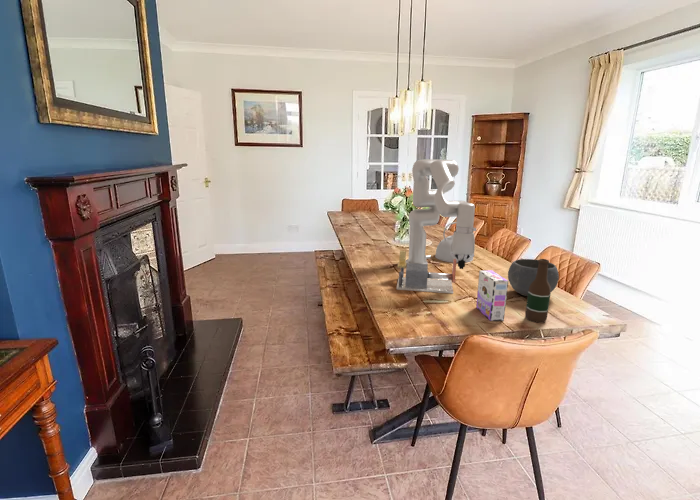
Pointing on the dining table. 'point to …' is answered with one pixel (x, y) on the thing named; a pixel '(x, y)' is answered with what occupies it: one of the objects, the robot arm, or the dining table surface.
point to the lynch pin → (444, 274)
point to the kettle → (447, 249)
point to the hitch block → (421, 280)
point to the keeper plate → (402, 260)
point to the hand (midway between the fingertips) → (461, 268)
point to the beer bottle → (539, 295)
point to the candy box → (492, 295)
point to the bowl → (529, 275)
